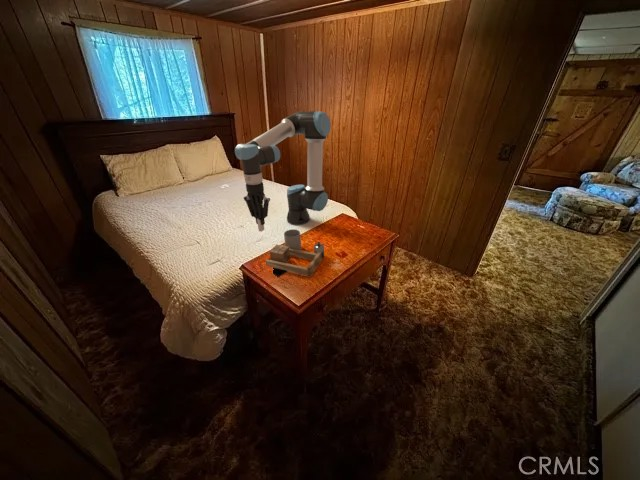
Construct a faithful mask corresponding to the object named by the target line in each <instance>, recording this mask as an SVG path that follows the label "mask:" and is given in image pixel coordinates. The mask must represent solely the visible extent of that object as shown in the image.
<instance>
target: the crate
mask: <svg viewBox="0 0 640 480" xmlns="http://www.w3.org/2000/svg"><path fill="white" fill-rule="evenodd" d="M269 257H270V258H269V259H271V260H273V261H278V262H282V263H287V262H288V261H289V260H290V259H291V256H290V252H289V247H287V246H285V244H284V245H283V244H275V245H274V246H273V247H272V248H271V250H270V251H269ZM287 264H288V263H287Z"/></svg>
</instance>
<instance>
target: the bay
mask: <svg viewBox="0 0 640 480" xmlns="http://www.w3.org/2000/svg"><path fill="white" fill-rule="evenodd" d="M289 252H290V257H294V258H299V259H303V260H304V259H305V260H310V261H311V262H310V263H309V264H308V266H307V267H306V266H305V267H304V266H302V265H301V266H300V265H295V264H291V263H282V262H278V261H273V260H268V258H267V259H266V260H265V261H266V265H267V266H270V267H273V268H277V269H282V270H286V271H287V272H286V273H292V274H297V275H300V276H301V275H302V276H306V277H310V278H311V277H312V276H313V274H314V273H315V271H316V270H317V268H318V267H319V265H320V263H321V262H322V261H323V258H322V252H318V253H317V254H316V253H314V252H311V251H305V250H302V249H301V250H295V249H290V248H289Z"/></svg>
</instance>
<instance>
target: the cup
mask: <svg viewBox="0 0 640 480" xmlns="http://www.w3.org/2000/svg"><path fill="white" fill-rule="evenodd" d="M283 237H284V246H287V247H289V248H290V249H295V250H301V251H302V240H301V232H300V230H298V229H287V230H285V231H284V232H283Z"/></svg>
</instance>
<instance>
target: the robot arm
mask: <svg viewBox="0 0 640 480" xmlns="http://www.w3.org/2000/svg"><path fill="white" fill-rule="evenodd" d="M331 124H332V123H331V120H330V117H329V116H328V114H327V113H326V112H324V111H319V110H314V111H313V110H312V111H311V110H309V111H308V110H306V111H305V110H301V111H297V112H295V113H292V114H291V115H289V116H286V117H284V118H283V119H281V121H280V123H279V124H277V125H275V126H273V127H272V128H271V129H269V130H267V131H266V132H263V133H262V134H260V135H259V136H256V137H254V138H253V139H252V140H250V141H248V142H246V143H238V144H237V145H236V146H235V148H234V154H235V157H236V158H237V159H238V160H240V161H241V162H240V163H241V166H242V171H243V177H244V183H245V188H246V192H247V194H246V196H244V197H243V200H244V201H245V202H246V205H247V207H248V211H249V213H250V216H251V217H252V218H253V217H254V219H255V223H256V225H257V227H258V232H260V233H261V232H263V231H264V230H265V224H266V223H265V222H266V221H265V219H266V218H267V217H268V215H269V204H270V201H271V198H270V197H266V194H265V191H264V190H265V187H264V182H263V180H264V179H263V173H262V167H263V166H268V165H271V164H275V163H276V162H278V161H280V159H281V151H280V149H279V148H278V146H277V145H278V144H279V143H281V142H283V140H285V139H287V138H292V137H293V136H296V135H304V139H305V141H306V143H307V153H306V154H307V157H306V159H307V167H306V168H307V173H306V174H307V175H306V176H307V178H306V179H307V184H306V185H305V184H295V185H291V186H289V187H287V189H286V197H287V204H288V212H287V216H286V221H287V224H290V225H296V226H301V225H305V224H307V223H308V222H310V220H311V218H310V217H311V216H310V213H309V211H308V210H311V211H314V212H315V211H316V212H322V211H323V210H324V209H325V208H326V206H327V204H328V201H329V196H328V195H329V194H328V193H326V192H325V187H324V186H323V159H324V156H323V155H324V142H325V141H326V140H327V136H329V134H330V132H331V129H332V128H331V127H332V125H331Z"/></svg>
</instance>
